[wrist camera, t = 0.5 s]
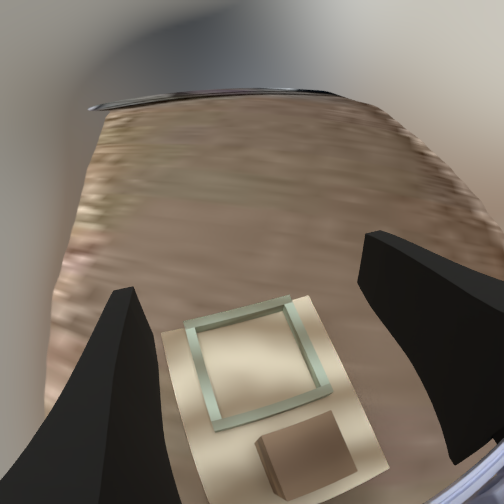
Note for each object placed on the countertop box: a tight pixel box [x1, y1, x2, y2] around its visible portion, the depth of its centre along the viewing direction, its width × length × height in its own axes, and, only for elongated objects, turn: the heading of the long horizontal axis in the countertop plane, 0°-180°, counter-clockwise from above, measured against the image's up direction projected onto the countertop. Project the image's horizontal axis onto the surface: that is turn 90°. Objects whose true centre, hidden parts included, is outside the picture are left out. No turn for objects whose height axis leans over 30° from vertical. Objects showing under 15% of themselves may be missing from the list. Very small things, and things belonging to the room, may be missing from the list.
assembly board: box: [161, 295, 389, 504], centre depth 22 cm, size 18×14×2 cm
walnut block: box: [254, 410, 358, 501], centre depth 17 cm, size 4×4×6 cm
